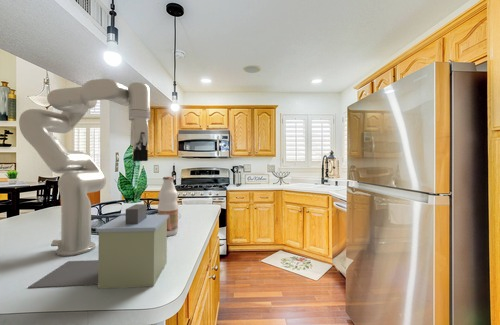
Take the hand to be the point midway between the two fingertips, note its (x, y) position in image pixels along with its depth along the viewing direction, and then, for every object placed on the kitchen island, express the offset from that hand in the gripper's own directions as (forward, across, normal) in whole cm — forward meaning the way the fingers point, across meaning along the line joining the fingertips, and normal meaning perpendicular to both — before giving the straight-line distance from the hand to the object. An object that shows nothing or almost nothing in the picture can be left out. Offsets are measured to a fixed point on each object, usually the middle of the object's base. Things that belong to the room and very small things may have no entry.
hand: (140, 161), depth 90 cm
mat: (+36, +5, -19) cm, 41 cm away
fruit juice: (+36, -20, +16) cm, 44 cm away
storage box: (+36, +16, -5) cm, 40 cm away
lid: (+20, +17, -4) cm, 26 cm away
